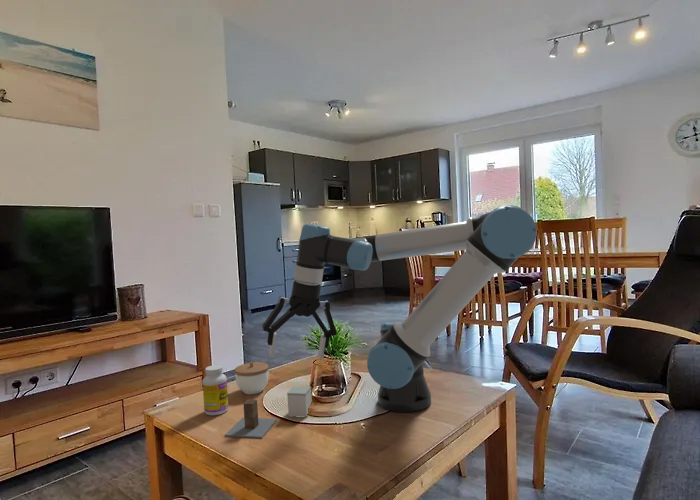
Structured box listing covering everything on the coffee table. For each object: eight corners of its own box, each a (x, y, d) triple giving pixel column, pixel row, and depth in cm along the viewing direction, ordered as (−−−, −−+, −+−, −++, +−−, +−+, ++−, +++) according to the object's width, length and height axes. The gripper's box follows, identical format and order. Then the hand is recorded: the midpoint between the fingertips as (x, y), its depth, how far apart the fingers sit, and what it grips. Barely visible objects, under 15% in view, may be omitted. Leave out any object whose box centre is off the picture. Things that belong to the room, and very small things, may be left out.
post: (258, 426, 113) (257, 399, 113) (254, 430, 111) (252, 403, 110) (249, 425, 114) (247, 399, 113) (245, 430, 111) (243, 403, 111)
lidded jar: (276, 389, 139) (275, 360, 139) (249, 400, 131) (247, 369, 131) (256, 382, 146) (255, 355, 146) (229, 392, 138) (227, 363, 138)
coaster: (277, 420, 116) (277, 418, 116) (262, 438, 106) (262, 436, 106) (242, 418, 118) (242, 417, 118) (225, 436, 108) (224, 434, 108)
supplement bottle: (221, 416, 120) (218, 371, 119) (200, 416, 121) (196, 371, 121) (232, 407, 127) (229, 364, 126) (212, 406, 128) (209, 363, 127)
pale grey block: (312, 409, 122) (311, 386, 121) (306, 417, 117) (305, 393, 116) (294, 408, 123) (293, 386, 123) (288, 416, 118) (287, 393, 117)
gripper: (347, 283, 123) (336, 354, 125) (259, 274, 115) (248, 350, 117) (355, 289, 116) (343, 364, 118) (262, 280, 108) (250, 360, 110)
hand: (296, 357), depth 118 cm, fingers open, 13 cm apart
